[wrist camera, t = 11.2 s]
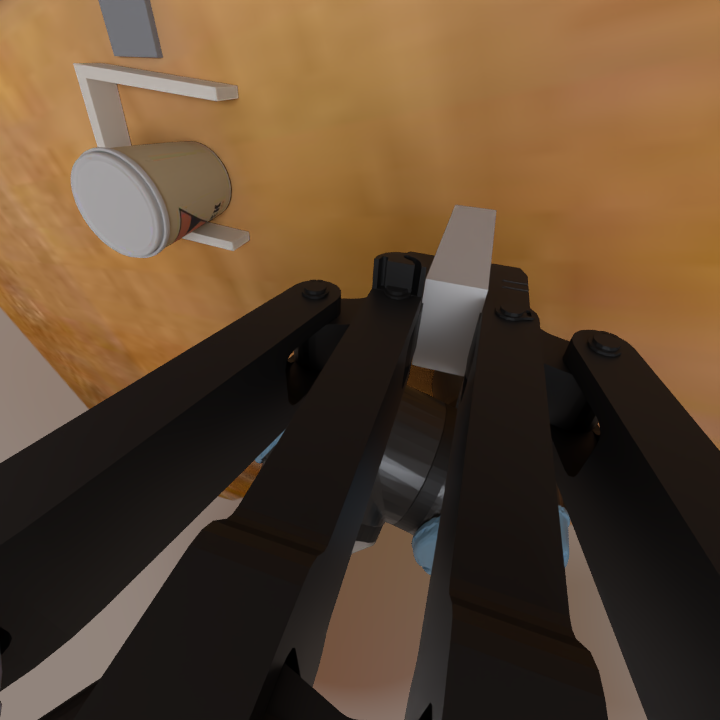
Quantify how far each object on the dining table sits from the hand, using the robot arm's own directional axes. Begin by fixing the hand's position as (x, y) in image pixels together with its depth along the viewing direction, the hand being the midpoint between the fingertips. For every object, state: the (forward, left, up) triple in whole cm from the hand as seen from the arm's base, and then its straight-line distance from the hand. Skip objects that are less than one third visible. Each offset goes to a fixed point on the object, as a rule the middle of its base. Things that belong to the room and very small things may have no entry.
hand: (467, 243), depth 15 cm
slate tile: (+5, +35, -24) cm, 42 cm away
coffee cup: (-8, +29, -24) cm, 39 cm away
